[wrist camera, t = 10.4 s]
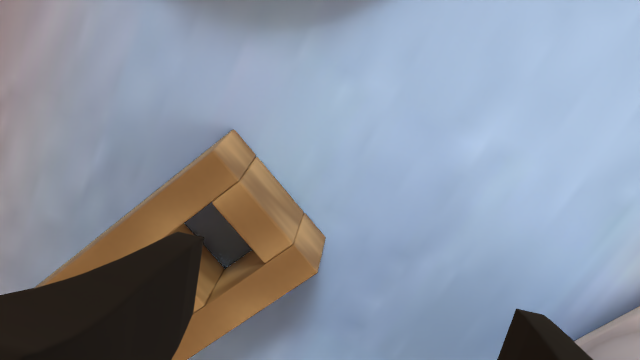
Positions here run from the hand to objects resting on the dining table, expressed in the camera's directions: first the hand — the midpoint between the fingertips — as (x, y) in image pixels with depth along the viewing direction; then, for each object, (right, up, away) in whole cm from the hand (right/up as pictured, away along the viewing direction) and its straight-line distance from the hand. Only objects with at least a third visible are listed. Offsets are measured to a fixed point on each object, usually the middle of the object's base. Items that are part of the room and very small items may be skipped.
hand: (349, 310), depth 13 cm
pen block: (-8, -1, +13) cm, 15 cm away
